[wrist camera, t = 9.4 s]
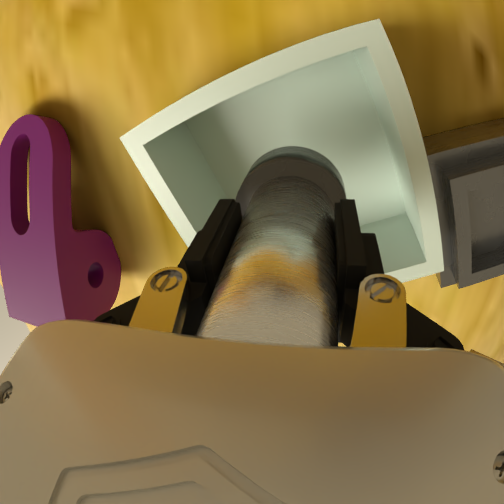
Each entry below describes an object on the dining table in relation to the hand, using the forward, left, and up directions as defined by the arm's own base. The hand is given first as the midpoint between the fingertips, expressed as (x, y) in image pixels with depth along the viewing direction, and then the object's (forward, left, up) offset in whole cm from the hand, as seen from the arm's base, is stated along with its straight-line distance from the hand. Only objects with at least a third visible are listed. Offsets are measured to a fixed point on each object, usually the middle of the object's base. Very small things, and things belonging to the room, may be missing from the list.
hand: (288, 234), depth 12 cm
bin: (0, 0, -9) cm, 9 cm away
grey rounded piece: (0, 0, -3) cm, 3 cm away
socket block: (-6, -12, -9) cm, 16 cm away
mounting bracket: (+5, +21, -10) cm, 24 cm away
